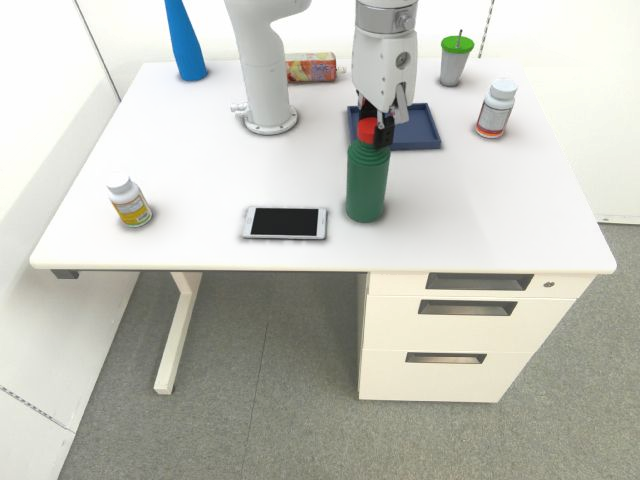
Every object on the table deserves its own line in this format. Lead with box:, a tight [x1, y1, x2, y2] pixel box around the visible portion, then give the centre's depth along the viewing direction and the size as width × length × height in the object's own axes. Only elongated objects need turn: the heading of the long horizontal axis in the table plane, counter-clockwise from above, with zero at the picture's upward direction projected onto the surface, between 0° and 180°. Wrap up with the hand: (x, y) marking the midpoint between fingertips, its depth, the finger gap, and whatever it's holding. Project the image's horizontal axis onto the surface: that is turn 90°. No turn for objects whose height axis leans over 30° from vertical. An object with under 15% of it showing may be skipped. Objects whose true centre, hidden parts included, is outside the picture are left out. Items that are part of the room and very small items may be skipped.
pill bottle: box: [475, 78, 519, 139], centre depth 87 cm, size 6×6×11 cm
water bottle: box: [345, 139, 392, 224], centre depth 69 cm, size 7×7×18 cm
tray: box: [346, 102, 442, 152], centre depth 92 cm, size 19×15×2 cm
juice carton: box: [285, 51, 337, 83], centre depth 106 cm, size 21×7×7 cm, turn 91°
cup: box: [439, 29, 476, 88], centre depth 100 cm, size 8×8×15 cm
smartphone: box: [241, 206, 327, 240], centre depth 74 cm, size 8×1×15 cm
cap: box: [357, 117, 378, 143], centre depth 62 cm, size 4×4×2 cm
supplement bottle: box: [105, 171, 153, 228], centre depth 73 cm, size 5×5×10 cm
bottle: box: [163, 0, 208, 82], centre depth 101 cm, size 7×7×30 cm
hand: (374, 137), depth 63 cm, fingers closed on cap, 3 cm apart
